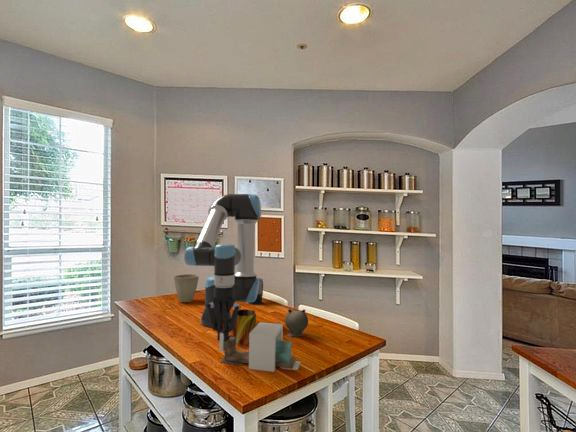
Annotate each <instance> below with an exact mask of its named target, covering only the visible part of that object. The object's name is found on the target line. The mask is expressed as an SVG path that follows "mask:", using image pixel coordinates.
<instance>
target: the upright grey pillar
mask: <svg viewBox="0 0 576 432" xmlns="http://www.w3.org/2000/svg"><path fill="white" fill-rule="evenodd" d="M283 328H284V324H283V323H273V322H272V323H271V322H260V321H259V323H257V324H256V327H255V328H254V329H253V330H252V331H251V332H250V333H249V345H248V352H249V363H248V369H249V370H255V371H256V370H257V371H264V372H271V373H272V372H273V373H274V372H275V371H276V366H275V353H276V340H280V341H284V340H283V337H284V336H283V335H284V334H283V333H284V331H283V330H284V329H283Z"/></svg>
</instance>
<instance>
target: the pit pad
mask: <svg viewBox="0 0 576 432" xmlns="http://www.w3.org/2000/svg"><path fill="white" fill-rule="evenodd" d="M219 363H221V364H222V363H223V364H230V365H239V366H242V365H243V364H244V363H243V362H235V361H226V360H224V357H223V358H222V359H221V360H220V361H219Z"/></svg>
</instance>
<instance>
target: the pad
mask: <svg viewBox="0 0 576 432" xmlns="http://www.w3.org/2000/svg"><path fill="white" fill-rule="evenodd" d="M300 366H301V361H297V360H296V361H295V363H294V365H293V368H286V367H279V368H280V369H283V370H290V371H291V370H293V371H298V370H299V368H300Z"/></svg>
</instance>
